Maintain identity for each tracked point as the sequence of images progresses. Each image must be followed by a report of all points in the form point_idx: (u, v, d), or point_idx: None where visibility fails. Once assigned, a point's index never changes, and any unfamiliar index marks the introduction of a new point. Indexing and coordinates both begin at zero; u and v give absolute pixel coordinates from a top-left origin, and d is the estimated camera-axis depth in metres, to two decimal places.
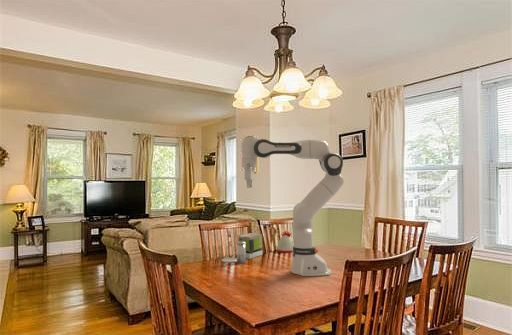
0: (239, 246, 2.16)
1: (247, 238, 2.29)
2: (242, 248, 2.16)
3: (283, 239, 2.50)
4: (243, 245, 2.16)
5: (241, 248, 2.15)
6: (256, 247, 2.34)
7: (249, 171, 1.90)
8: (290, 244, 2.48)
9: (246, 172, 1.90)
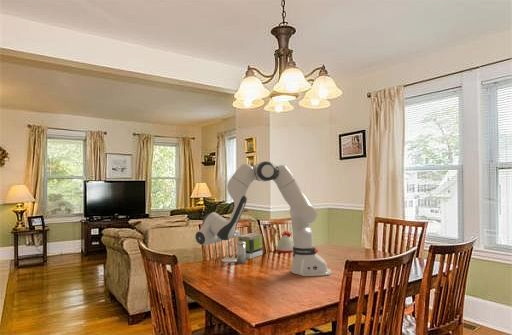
0: (239, 246, 2.16)
1: (247, 238, 2.29)
2: (242, 248, 2.16)
3: (283, 239, 2.50)
4: (243, 245, 2.16)
5: (241, 248, 2.15)
6: (256, 247, 2.34)
7: (235, 232, 1.95)
8: (290, 244, 2.48)
9: (236, 235, 1.96)
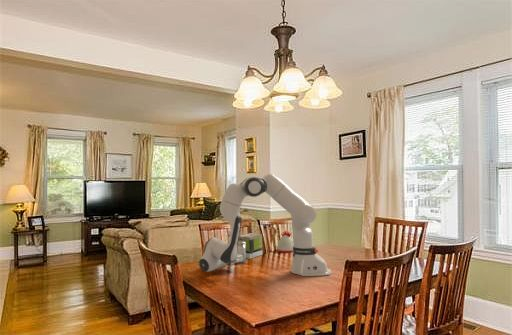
0: (239, 246, 2.16)
1: (247, 238, 2.29)
2: (242, 248, 2.16)
3: (283, 239, 2.50)
4: (243, 245, 2.16)
5: (241, 248, 2.15)
6: (256, 247, 2.34)
7: (238, 257, 1.97)
8: (290, 244, 2.48)
9: (239, 260, 1.98)
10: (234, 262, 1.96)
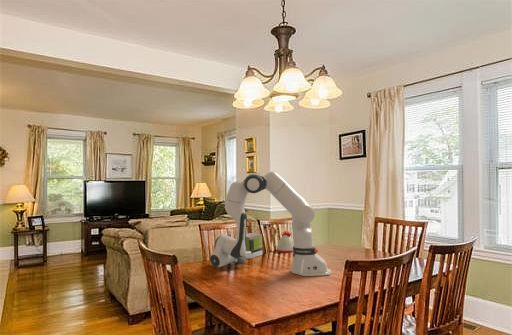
0: None
1: (247, 238, 2.29)
2: None
3: (283, 239, 2.50)
4: None
5: None
6: (256, 247, 2.34)
7: (247, 253, 2.06)
8: (290, 244, 2.48)
9: (248, 256, 2.06)
10: (243, 258, 2.04)
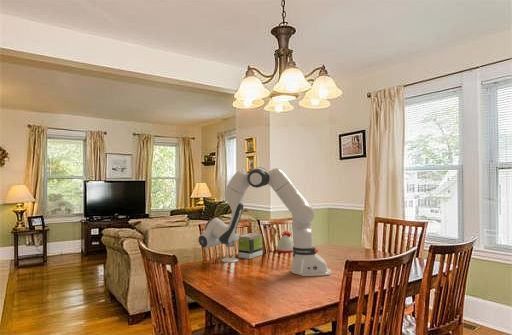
0: None
1: (247, 238, 2.29)
2: None
3: (283, 239, 2.50)
4: None
5: None
6: (256, 247, 2.34)
7: (235, 236, 2.12)
8: (290, 244, 2.48)
9: (236, 238, 2.12)
10: None
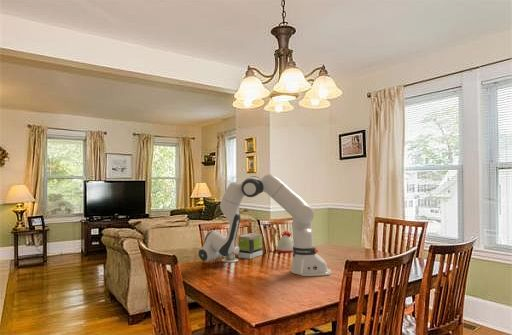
0: None
1: (247, 238, 2.29)
2: None
3: (283, 239, 2.50)
4: None
5: None
6: (256, 247, 2.34)
7: (235, 248, 2.12)
8: (290, 244, 2.48)
9: (236, 251, 2.12)
10: None
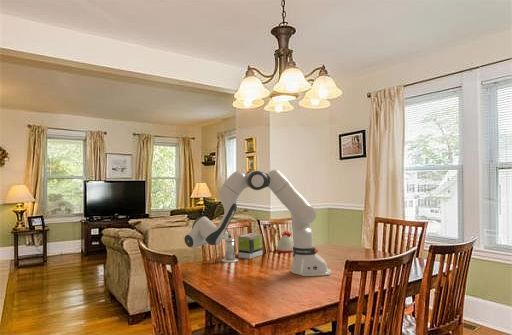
0: (228, 243, 2.21)
1: (247, 238, 2.29)
2: (231, 245, 2.21)
3: (283, 239, 2.50)
4: (232, 242, 2.21)
5: (230, 245, 2.21)
6: (256, 247, 2.34)
7: (224, 234, 2.01)
8: (290, 244, 2.48)
9: (224, 237, 2.01)
10: None
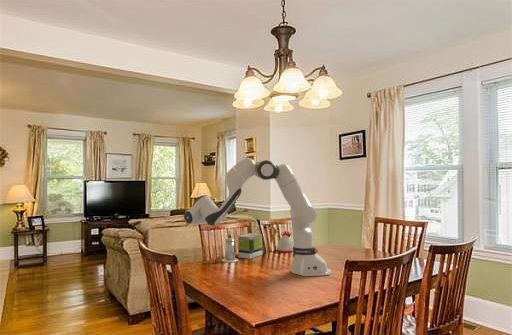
0: (228, 243, 2.21)
1: (247, 238, 2.29)
2: (231, 245, 2.21)
3: (283, 239, 2.50)
4: (232, 242, 2.21)
5: (230, 245, 2.21)
6: (256, 247, 2.34)
7: None
8: (290, 244, 2.48)
9: (224, 216, 2.02)
10: None
